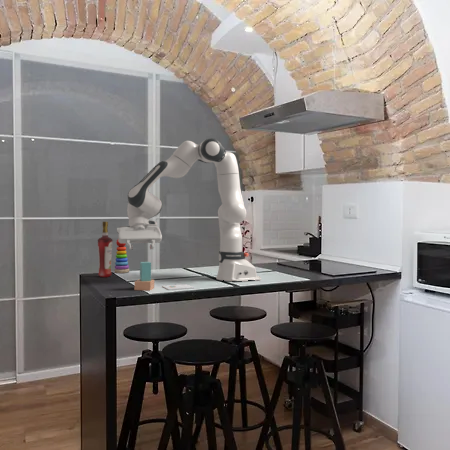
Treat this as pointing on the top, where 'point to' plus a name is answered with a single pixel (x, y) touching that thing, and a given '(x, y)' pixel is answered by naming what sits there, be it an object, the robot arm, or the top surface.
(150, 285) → the base brick
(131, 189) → the robot arm
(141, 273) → the teal brick
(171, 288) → the plate
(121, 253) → the stacking toy
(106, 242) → the liquor
